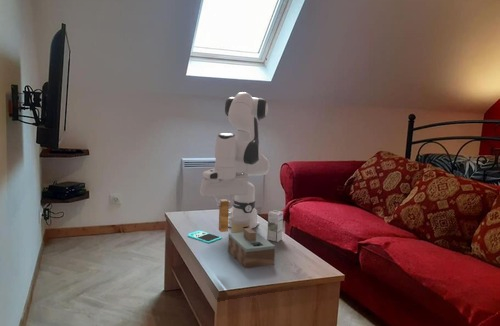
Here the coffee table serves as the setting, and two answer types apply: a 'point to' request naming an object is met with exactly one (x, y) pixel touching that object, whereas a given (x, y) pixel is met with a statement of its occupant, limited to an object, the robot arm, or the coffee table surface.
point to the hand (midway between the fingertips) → (223, 205)
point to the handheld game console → (204, 236)
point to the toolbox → (251, 256)
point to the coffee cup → (239, 223)
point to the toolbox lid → (251, 240)
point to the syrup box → (275, 225)
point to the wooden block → (223, 215)
